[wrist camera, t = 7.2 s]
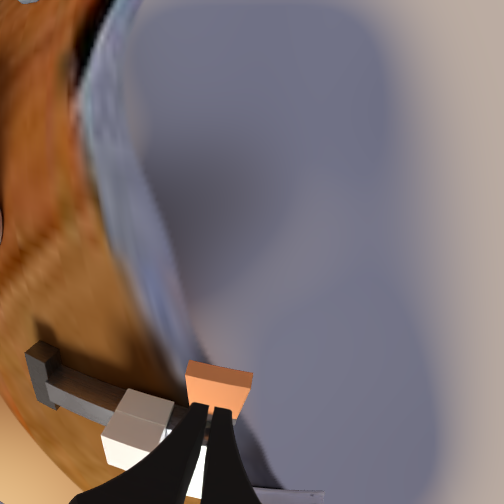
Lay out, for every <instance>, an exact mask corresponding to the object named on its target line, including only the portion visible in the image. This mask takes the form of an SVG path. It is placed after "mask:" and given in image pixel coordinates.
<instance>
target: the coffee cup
mask: <svg viewBox="0 0 504 504" xmlns="http://www.w3.org/2000/svg"><path fill="white" fill-rule="evenodd" d="M1 238H2V216H1V210H0V243H1Z"/></svg>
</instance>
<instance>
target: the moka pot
mask: <svg viewBox="0 0 504 504" xmlns="http://www.w3.org/2000/svg"><path fill="white" fill-rule="evenodd" d="M18 1H20V2H21V3H22V4H28V3H32V2H37V1H39V0H18Z"/></svg>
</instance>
